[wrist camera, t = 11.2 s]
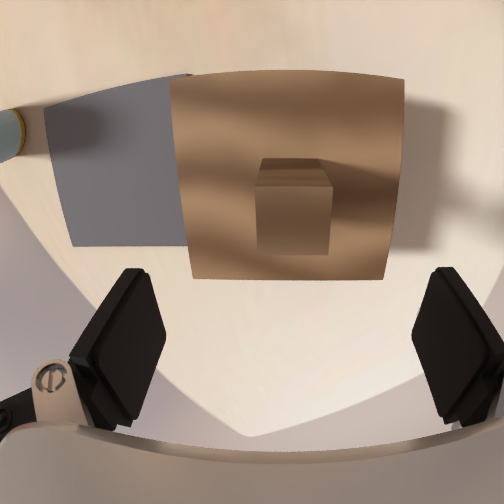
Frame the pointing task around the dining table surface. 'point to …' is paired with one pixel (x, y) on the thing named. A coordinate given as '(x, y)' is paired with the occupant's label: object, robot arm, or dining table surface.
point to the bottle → (11, 134)
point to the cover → (288, 172)
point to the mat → (118, 166)
